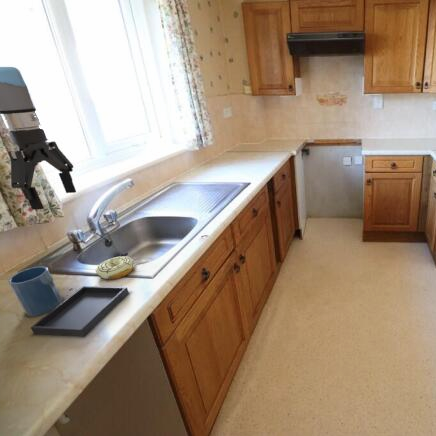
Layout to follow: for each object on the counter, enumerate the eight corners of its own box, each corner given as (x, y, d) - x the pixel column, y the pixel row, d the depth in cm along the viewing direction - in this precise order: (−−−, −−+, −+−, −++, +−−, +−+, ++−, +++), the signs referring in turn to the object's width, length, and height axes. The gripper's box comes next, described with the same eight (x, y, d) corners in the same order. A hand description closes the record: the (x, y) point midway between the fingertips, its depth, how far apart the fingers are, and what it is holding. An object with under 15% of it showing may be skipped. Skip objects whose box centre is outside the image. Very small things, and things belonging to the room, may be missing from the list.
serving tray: (85, 292, 98) (83, 285, 97) (129, 293, 96) (126, 287, 95) (33, 334, 82) (30, 327, 81) (84, 336, 81) (81, 329, 80)
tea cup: (27, 305, 93) (9, 273, 89) (62, 293, 98) (47, 263, 93) (25, 320, 87) (6, 287, 83) (62, 307, 92) (47, 275, 87)
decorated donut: (104, 286, 100) (99, 276, 99) (95, 273, 107) (91, 263, 106) (139, 271, 107) (136, 261, 105) (129, 260, 114) (125, 250, 112)
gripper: (-2, 136, 77) (35, 216, 86) (70, 121, 100) (94, 186, 109) (-33, 137, 77) (7, 217, 86) (46, 122, 100) (71, 187, 109)
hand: (55, 200), depth 98 cm, fingers open, 13 cm apart
